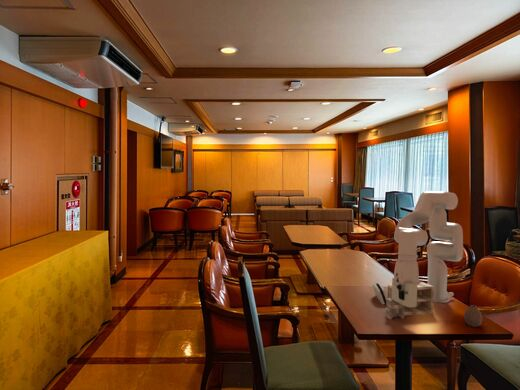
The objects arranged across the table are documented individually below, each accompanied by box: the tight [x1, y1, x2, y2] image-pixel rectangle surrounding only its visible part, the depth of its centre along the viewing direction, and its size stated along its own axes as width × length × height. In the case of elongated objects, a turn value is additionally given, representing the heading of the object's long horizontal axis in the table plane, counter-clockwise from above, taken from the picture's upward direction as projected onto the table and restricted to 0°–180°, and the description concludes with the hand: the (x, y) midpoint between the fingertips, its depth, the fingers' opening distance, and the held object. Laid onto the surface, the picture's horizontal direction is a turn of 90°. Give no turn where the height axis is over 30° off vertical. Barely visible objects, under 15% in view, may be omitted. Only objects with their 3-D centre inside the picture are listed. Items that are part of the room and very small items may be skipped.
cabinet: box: [385, 281, 434, 320], centre depth 183 cm, size 26×11×13 cm, turn 106°
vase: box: [463, 304, 483, 328], centre depth 169 cm, size 7×7×9 cm
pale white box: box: [391, 277, 417, 307], centre depth 171 cm, size 5×12×10 cm, turn 16°
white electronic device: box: [372, 282, 388, 305], centre depth 204 cm, size 17×5×10 cm, turn 175°
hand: (405, 298), depth 170 cm, fingers closed on pale white box, 4 cm apart
